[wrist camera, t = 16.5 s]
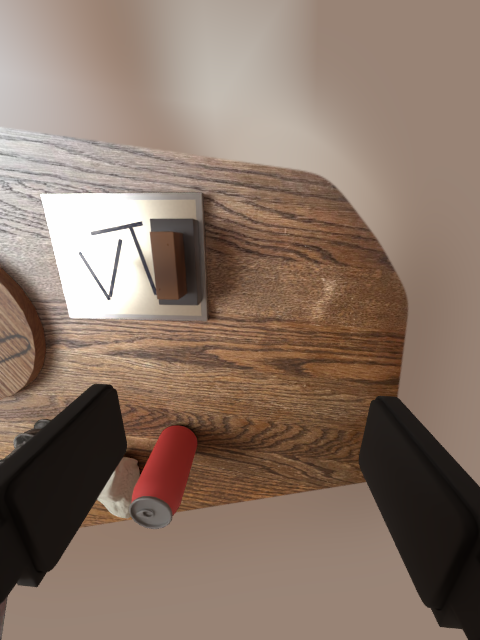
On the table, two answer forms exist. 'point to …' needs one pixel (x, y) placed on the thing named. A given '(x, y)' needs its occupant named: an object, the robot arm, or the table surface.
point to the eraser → (176, 261)
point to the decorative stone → (120, 488)
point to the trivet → (18, 338)
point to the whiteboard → (118, 252)
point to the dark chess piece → (26, 437)
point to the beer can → (164, 478)
